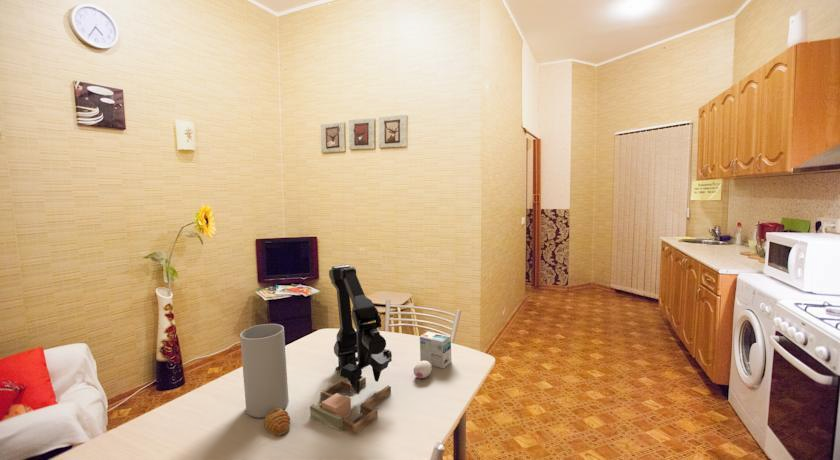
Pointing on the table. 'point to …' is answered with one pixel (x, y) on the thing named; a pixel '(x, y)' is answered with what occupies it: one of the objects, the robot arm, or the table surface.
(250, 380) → the cylinder vase
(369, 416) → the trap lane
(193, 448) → the table surface
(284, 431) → the pastry
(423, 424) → the table surface
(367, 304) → the robot arm
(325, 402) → the terracotta block
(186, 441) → the table surface
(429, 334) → the light bulb box
